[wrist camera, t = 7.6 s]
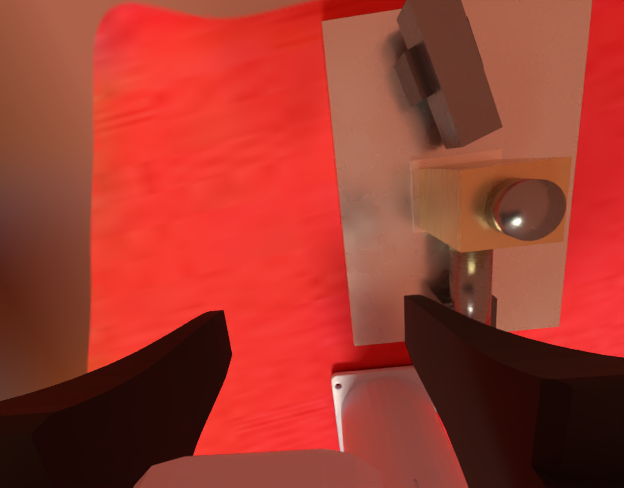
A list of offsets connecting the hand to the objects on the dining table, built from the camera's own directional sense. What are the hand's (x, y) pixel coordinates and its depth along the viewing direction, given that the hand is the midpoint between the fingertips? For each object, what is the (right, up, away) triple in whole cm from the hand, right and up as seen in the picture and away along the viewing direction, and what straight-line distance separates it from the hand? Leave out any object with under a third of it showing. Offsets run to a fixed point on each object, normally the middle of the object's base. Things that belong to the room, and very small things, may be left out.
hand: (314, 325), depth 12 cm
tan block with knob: (+9, +6, +6) cm, 12 cm away
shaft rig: (+9, +7, +8) cm, 13 cm away
